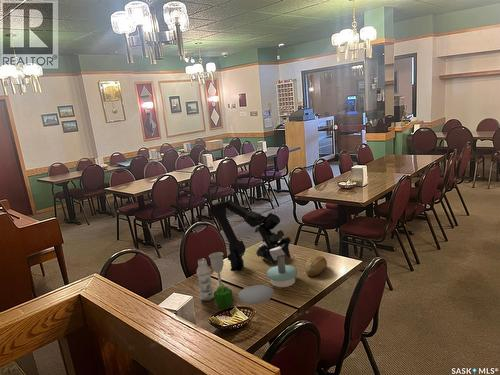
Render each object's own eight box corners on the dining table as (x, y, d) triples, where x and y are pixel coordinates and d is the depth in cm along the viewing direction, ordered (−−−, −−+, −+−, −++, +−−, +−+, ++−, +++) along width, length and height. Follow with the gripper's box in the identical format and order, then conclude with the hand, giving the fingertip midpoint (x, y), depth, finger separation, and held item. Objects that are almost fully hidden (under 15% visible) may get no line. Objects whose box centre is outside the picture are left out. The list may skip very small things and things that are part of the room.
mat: (234, 305, 161) (234, 304, 161) (241, 286, 177) (241, 285, 177) (271, 304, 158) (271, 303, 158) (275, 285, 174) (275, 284, 174)
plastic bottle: (201, 296, 172) (194, 258, 168) (214, 294, 172) (209, 256, 168) (200, 303, 166) (194, 264, 161) (214, 301, 166) (208, 262, 162)
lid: (265, 281, 170) (263, 264, 168) (269, 267, 184) (267, 251, 183) (296, 280, 167) (295, 263, 165) (297, 266, 182) (296, 250, 180)
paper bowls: (258, 254, 213) (257, 242, 211) (283, 250, 214) (282, 238, 212) (262, 265, 198) (260, 252, 196) (288, 261, 199) (287, 248, 198)
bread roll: (331, 267, 186) (330, 253, 185) (318, 279, 175) (317, 264, 173) (315, 264, 192) (314, 250, 190) (301, 276, 181) (300, 261, 179)
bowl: (269, 288, 172) (269, 279, 171) (272, 276, 184) (271, 268, 183) (294, 287, 170) (293, 279, 169) (295, 275, 181) (294, 267, 180)
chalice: (216, 293, 173) (211, 259, 169) (211, 287, 179) (206, 255, 175) (230, 288, 176) (225, 255, 173) (224, 283, 182) (220, 250, 179)
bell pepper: (229, 312, 156) (226, 291, 154) (212, 309, 159) (209, 289, 157) (237, 301, 164) (234, 282, 161) (221, 299, 167) (218, 280, 165)
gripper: (257, 231, 169) (273, 259, 163) (287, 221, 179) (303, 247, 172) (249, 243, 178) (265, 270, 171) (279, 232, 187) (294, 258, 180)
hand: (282, 261), depth 173 cm, fingers open, 9 cm apart
